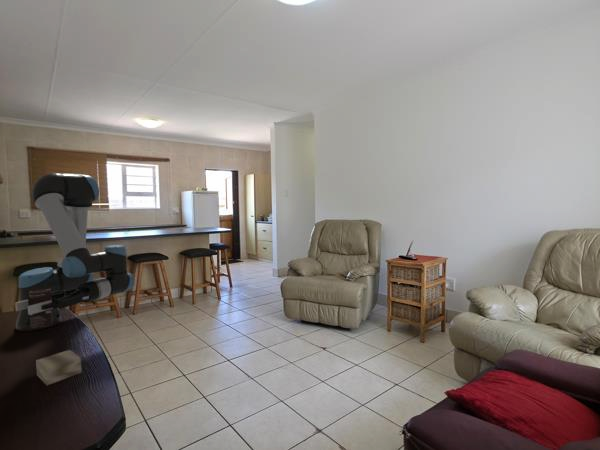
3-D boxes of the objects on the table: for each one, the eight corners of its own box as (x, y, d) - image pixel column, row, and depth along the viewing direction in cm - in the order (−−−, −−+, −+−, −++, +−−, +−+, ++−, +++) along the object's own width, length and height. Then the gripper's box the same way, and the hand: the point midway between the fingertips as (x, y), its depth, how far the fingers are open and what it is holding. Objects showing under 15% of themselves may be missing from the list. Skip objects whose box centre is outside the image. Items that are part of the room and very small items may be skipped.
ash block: (70, 364, 110) (69, 349, 109) (81, 373, 104) (80, 357, 104) (36, 376, 103) (35, 360, 102) (46, 386, 97) (45, 369, 97)
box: (29, 330, 107) (27, 293, 106) (31, 325, 111) (28, 290, 110) (52, 326, 111) (50, 290, 110) (53, 322, 115) (51, 287, 113)
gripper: (111, 303, 123) (40, 325, 102) (78, 296, 131) (6, 315, 110) (110, 283, 122) (39, 301, 101) (77, 277, 130) (5, 292, 109)
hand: (22, 308), depth 106 cm, fingers closed on box, 6 cm apart
